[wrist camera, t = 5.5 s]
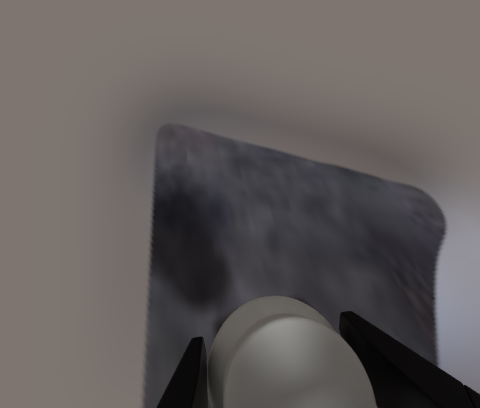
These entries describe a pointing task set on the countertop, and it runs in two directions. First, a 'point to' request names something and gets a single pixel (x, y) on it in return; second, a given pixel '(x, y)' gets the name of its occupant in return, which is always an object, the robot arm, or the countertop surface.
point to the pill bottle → (284, 360)
